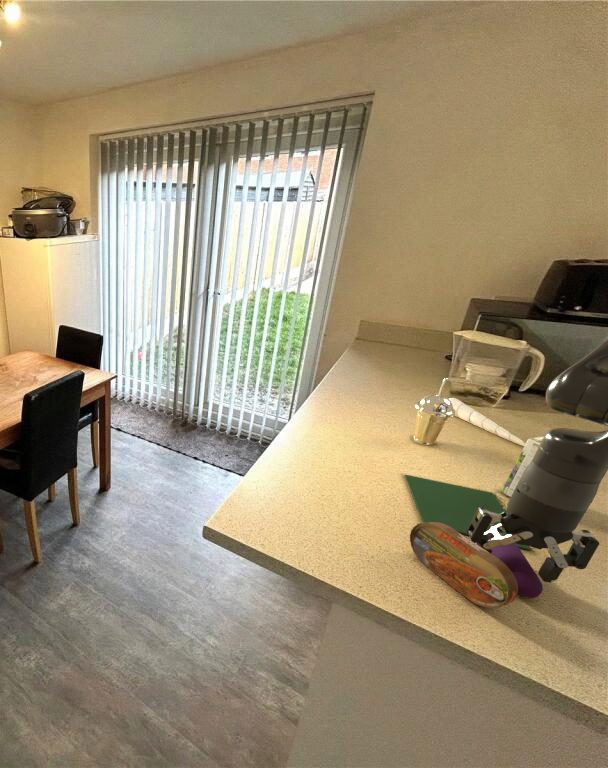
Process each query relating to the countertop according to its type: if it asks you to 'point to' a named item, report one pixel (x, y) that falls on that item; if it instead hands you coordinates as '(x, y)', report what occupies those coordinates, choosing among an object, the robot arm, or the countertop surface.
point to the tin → (464, 565)
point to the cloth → (452, 503)
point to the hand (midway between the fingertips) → (510, 569)
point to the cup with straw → (433, 415)
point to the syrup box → (521, 465)
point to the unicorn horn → (481, 421)
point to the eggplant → (519, 570)
